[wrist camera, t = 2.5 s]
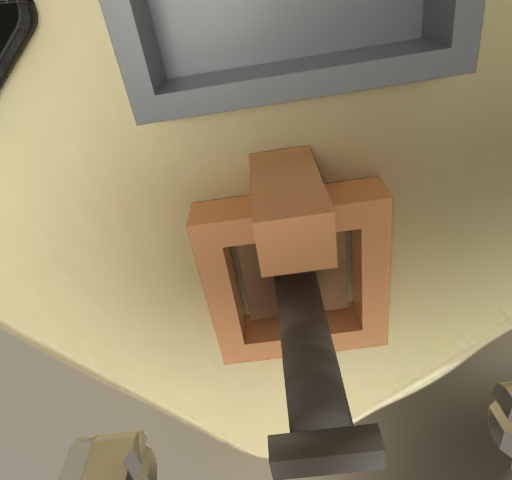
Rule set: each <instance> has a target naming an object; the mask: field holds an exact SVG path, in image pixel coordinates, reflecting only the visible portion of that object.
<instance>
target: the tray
mask: <svg viewBox="0 0 512 480" xmlns="http://www.w3.org/2000/svg"><path fill="white" fill-rule="evenodd" d="M99 3H100V6H101V9H102V13H103V16H104V19H105V22H106V26H107V29H108V32H109V36H110V39H111V42H112V45H113V49H114V52H115V55H116V59H117V62H118V65H119V68H120V72H121V75H122V78H123V82H124V85H125V88H126V91H127V95H128V98H129V101H130V105H131V108H132V111H133V114H134V118H135V121H136V124H137V125H143V124H150V123H156V122H163V121H169V120H175V119H182V118H188V117H195V116H201V115H207V114H214V113H220V112H227V111H233V110H239V109H246V108H252V107H259V106H265V105H271V104H278V103H284V102H291V101H297V100H303V99H310V98H316V97H323V96H329V95H335V94H342V93H348V92H355V91H361V90H367V89H374V88H380V87H387V86H393V85H399V84H406V83H412V82H419V81H425V80H431V79H438V78H444V77H451V76H457V75H463V74H470V73H476V68H477V60H478V53H479V45H480V37H481V30H482V22H483V15H484V7H485V0H99Z"/></svg>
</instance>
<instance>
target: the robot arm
mask: <svg viewBox="0 0 512 480" xmlns="http://www.w3.org/2000/svg"><path fill="white" fill-rule="evenodd" d="M492 394H493V396H494V398H495V399H496V401H495V402H494V403H493V404H491V405H490V406H489V410H488V415H487V417H488V422H489V428H490V430H491V433H492V435H493V438H494V440H495V442H496V443H497V445H498V447H499V449H500V450H502V451H503V452H504V453H506V454H507V455H509V456H510V457H512V382H505V383H498V384H497V385H495V386H494V389H493V393H492ZM146 439H147V437H146V436H145V434H144V432H143V430H136V431H127V432H119V433H111V434H102V435H92V436H85V437H77V438H76V439H75V441H74V442H73V443H72V445H71V447H70V449H69V452H68V455H67V458H66V461H65V463H64V466H63V469H62V471H61V474H60V477H59V480H157V463H156V458H155V454H154V452H153V450H152V449H151V448H149V447H147V446H146ZM511 470H512V466H511Z"/></svg>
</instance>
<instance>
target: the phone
mask: <svg viewBox="0 0 512 480" xmlns="http://www.w3.org/2000/svg"><path fill="white" fill-rule="evenodd" d="M37 23H38V13H37V10H36V6H35V3H34V1H33V0H0V90H1V88H2V87H3V85H4V83H5V81H6V80H7V78H8V76H9V75H10V73H11V71H12V69H13V68H14V66H15V64H16V62H17V61H18V59H19V57H20V56H21V54H22V52H23V50H24V49H25V47H26V45H27V44H28V42H29V40H30V38H31V37H32V35H33V33H34V31H35V29H36V26H37Z"/></svg>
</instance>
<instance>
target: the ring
mask: <svg viewBox="0 0 512 480" xmlns="http://www.w3.org/2000/svg"><path fill="white" fill-rule="evenodd" d="M250 180H251V195H245V196H238V197H231V198H224V199H217V200H211V201H204V202H197V203H192V205H191V209H190V213H189V218H188V222H187V226H186V227H187V231H188V234H189V238H190V242H191V245H192V249H193V252H194V256H195V260H196V263H197V267H198V271H199V274H200V278H201V281H202V285H203V289H204V292H205V296H206V300H207V303H208V307H209V310H210V314H211V318H212V321H213V325H214V329H215V332H216V336H217V339H218V343H219V347H220V350H221V354H222V358H223V361H224V365H226V364H235V363H243V362H251V361H259V360H268V359H276V358H282V349H281V340H280V330H279V320H278V317H271V318H263V319H255V320H251V316H250V315H247V316H244V311H243V307H242V302H241V297H240V293H239V288H238V284H237V279H236V274H235V270H234V265H233V260H232V256H231V251H230V247H232V246H240V245H247V244H254V243H256V249H257V255H258V260H259V266H260V272H261V277H262V278H263V277H271V276H278V275H286V274H293V273H301V272H308V271H316V270H323V269H331V268H338V263H337V243H336V232H342V231H349V230H351V246H352V284H353V302H349V303H348V308H342V309H334V310H326V311H325V312H326V316H327V320H328V324H329V328H330V332H331V336H332V341H333V345H334V349H335V351H342V350H350V349H358V348H366V347H375V346H383V345H388V323H389V295H390V266H391V238H392V210H393V197H392V195H391V194H390V193H389V191H388V190H387V188H386V187H385V185H384V184H383V182H382V181H381V179H380V178H379V177H378V176H377V177H370V178H363V179H356V180H349V181H342V182H335V183H328V184H324V183H323V180H322V178H321V175H320V173H319V170H318V168H317V165H316V162H315V160H314V157H313V155H312V152H311V150H310V147H309V145H307V146H301V147H294V148H287V149H281V150H274V151H267V152H261V153H254V154H250Z"/></svg>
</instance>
